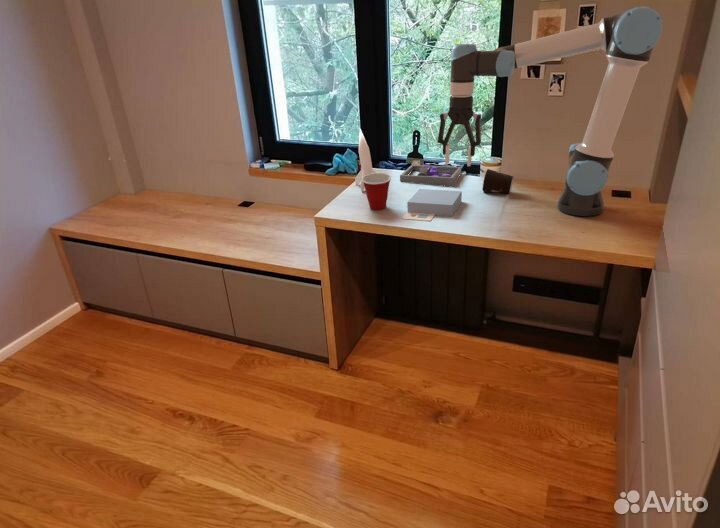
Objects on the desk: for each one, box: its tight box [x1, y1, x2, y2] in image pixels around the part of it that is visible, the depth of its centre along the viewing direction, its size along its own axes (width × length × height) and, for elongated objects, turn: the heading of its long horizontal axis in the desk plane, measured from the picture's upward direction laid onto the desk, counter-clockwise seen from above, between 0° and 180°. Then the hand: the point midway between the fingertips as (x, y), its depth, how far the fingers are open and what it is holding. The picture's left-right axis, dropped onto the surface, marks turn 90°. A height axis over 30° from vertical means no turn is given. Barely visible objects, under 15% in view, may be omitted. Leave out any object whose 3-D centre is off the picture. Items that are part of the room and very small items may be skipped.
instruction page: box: [401, 211, 436, 222], centre depth 182 cm, size 10×7×1 cm
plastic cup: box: [362, 172, 392, 211], centre depth 189 cm, size 11×11×12 cm
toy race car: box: [416, 163, 453, 177], centre depth 219 cm, size 10×15×6 cm, turn 68°
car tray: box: [399, 164, 462, 187], centre depth 220 cm, size 22×17×4 cm
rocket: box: [354, 128, 377, 192], centre depth 207 cm, size 10×9×24 cm
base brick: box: [406, 188, 463, 217], centre depth 189 cm, size 16×16×4 cm
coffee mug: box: [482, 168, 514, 194], centre depth 202 cm, size 12×9×10 cm
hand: (458, 164), depth 180 cm, fingers open, 7 cm apart
